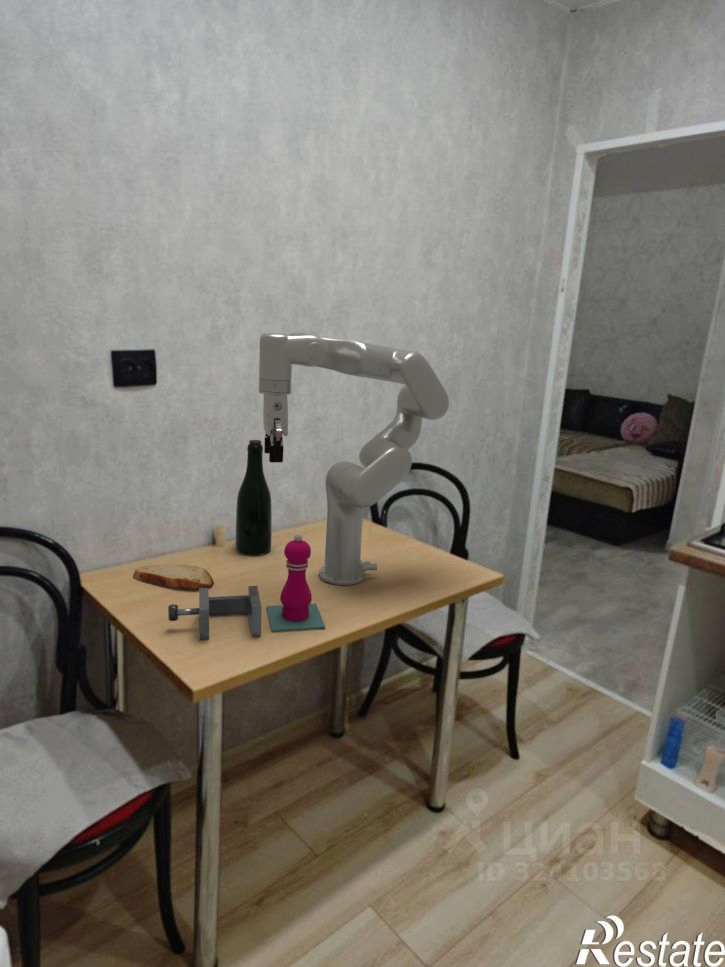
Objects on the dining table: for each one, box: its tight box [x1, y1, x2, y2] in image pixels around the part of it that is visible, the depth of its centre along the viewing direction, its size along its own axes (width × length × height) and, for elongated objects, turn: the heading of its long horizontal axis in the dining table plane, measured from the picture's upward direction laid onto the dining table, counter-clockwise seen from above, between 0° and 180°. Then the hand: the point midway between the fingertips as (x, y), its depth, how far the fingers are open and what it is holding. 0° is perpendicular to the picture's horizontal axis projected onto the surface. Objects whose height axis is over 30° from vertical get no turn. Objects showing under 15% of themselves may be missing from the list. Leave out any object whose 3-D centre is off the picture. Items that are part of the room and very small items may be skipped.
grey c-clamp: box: [167, 585, 262, 641], centre depth 143 cm, size 20×13×7 cm, turn 104°
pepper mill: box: [279, 533, 313, 621], centre depth 147 cm, size 7×7×20 cm
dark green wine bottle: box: [234, 439, 273, 556], centre depth 186 cm, size 10×10×33 cm
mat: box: [265, 603, 326, 633], centre depth 149 cm, size 12×12×1 cm
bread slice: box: [132, 564, 215, 592], centre depth 165 cm, size 18×18×4 cm
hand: (273, 457), depth 156 cm, fingers open, 9 cm apart
